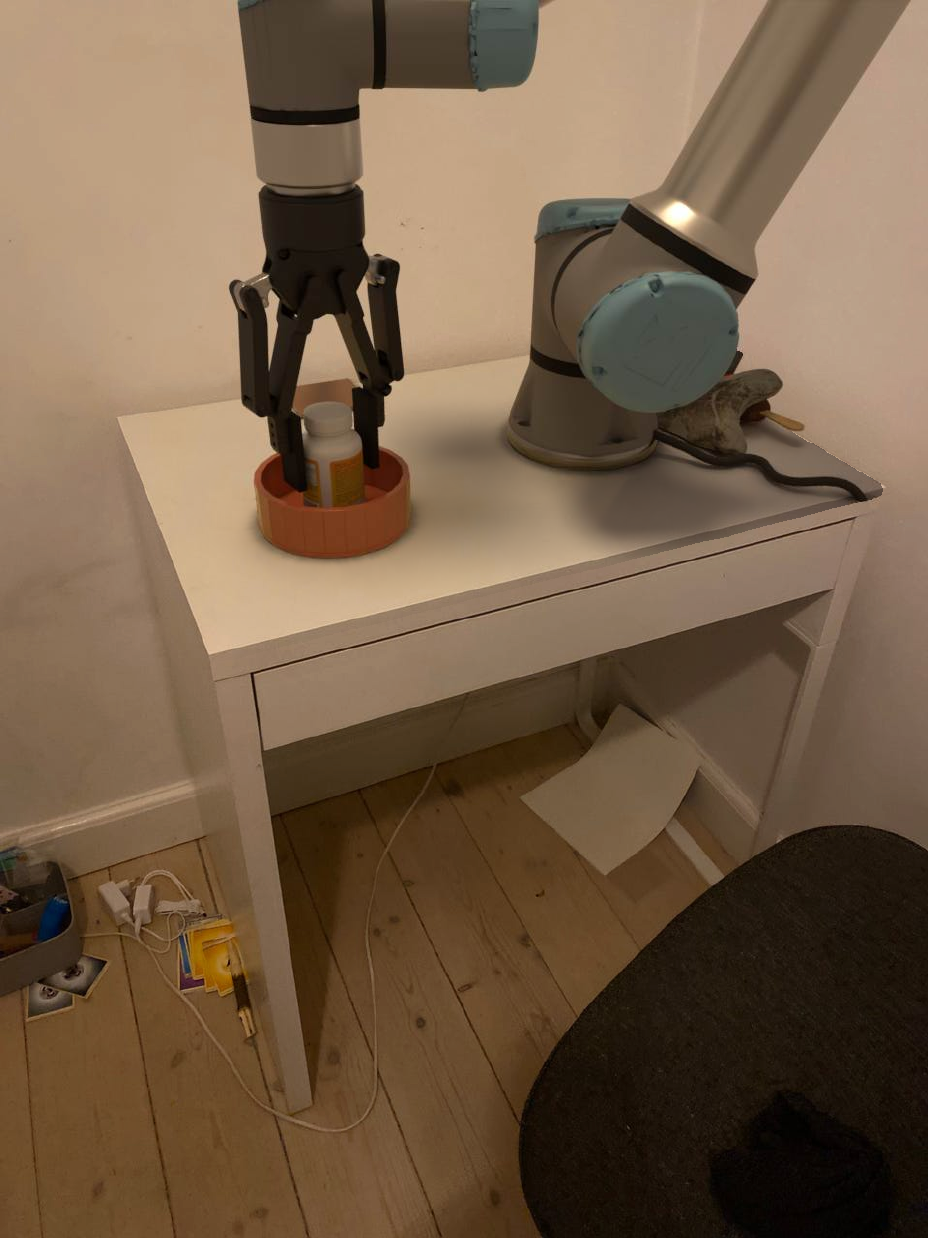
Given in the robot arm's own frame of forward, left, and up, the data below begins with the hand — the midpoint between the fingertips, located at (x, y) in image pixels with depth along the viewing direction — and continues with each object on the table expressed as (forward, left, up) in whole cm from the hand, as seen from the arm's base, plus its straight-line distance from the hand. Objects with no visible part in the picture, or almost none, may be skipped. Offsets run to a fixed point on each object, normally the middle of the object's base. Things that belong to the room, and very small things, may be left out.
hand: (332, 473), depth 82 cm
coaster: (+14, -23, -4) cm, 27 cm away
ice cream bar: (-36, -32, -3) cm, 48 cm away
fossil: (-18, -35, -4) cm, 39 cm away
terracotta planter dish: (0, 0, -4) cm, 4 cm away
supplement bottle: (0, 0, -4) cm, 4 cm away
